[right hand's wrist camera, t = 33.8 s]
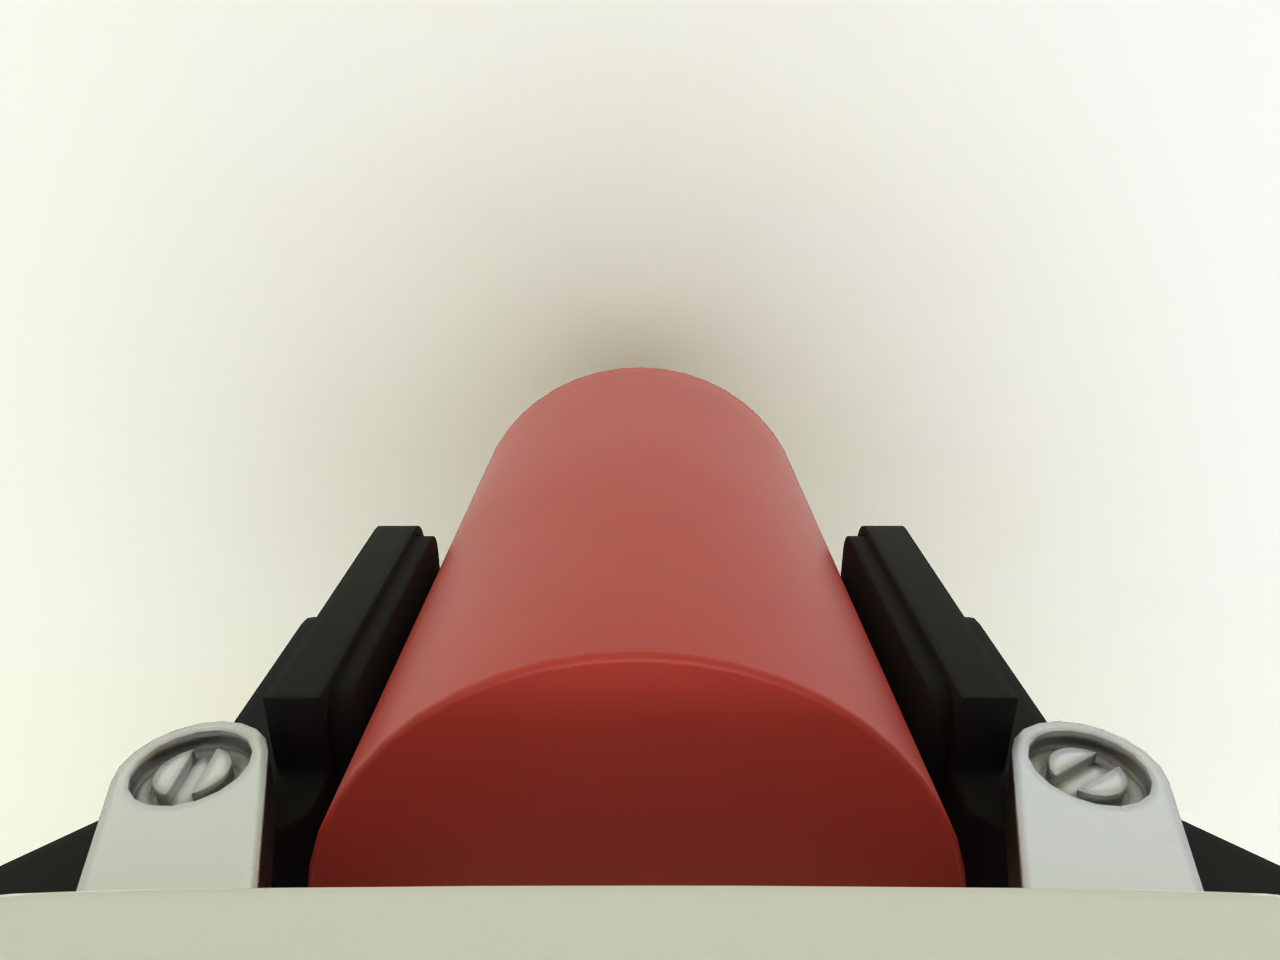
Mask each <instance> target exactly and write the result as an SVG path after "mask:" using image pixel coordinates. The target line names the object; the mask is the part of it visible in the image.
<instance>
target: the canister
mask: <svg viewBox="0 0 1280 960" xmlns="http://www.w3.org/2000/svg"><path fill="white" fill-rule="evenodd" d="M423 886H845V887H966V880H965V868H964V864H963V860H962V856H961V852H960V848H959V844H958V840H957V836H956V834H955V832H954V829H953V827H952V825H951V823H950V820H949V818H948V816H947V814H946V811H945V809H944V807H943V805H942V802H941V800H940V798H939V796H938V793H937V791H936V789H935V787H934V785H933V782H932V780H931V778H930V776H929V773H928V771H927V769H926V767H925V764H924V762H923V760H922V758H921V755H920V753H919V751H918V749H917V747H916V744H915V742H914V740H913V738H912V735H911V733H910V731H909V729H908V726H907V724H906V722H905V720H904V717H903V715H902V713H901V711H900V708H899V706H898V704H897V702H896V700H895V697H894V695H893V693H892V691H891V688H890V686H889V684H888V682H887V679H886V677H885V675H884V673H883V670H882V668H881V666H880V664H879V662H878V659H877V657H876V655H875V653H874V650H873V648H872V646H871V644H870V641H869V639H868V637H867V635H866V632H865V630H864V628H863V626H862V623H861V621H860V619H859V617H858V615H857V612H856V610H855V608H854V606H853V603H852V601H851V599H850V597H849V594H848V592H847V590H846V588H845V585H844V583H843V581H842V579H841V577H840V574H839V572H838V570H837V568H836V565H835V563H834V561H833V559H832V556H831V554H830V552H829V550H828V547H827V545H826V543H825V541H824V538H823V536H822V534H821V532H820V530H819V527H818V525H817V523H816V521H815V518H814V516H813V514H812V512H811V509H810V507H809V505H808V503H807V500H806V498H805V496H804V494H803V492H802V489H801V487H800V485H799V483H798V480H797V478H796V476H795V474H794V471H793V469H792V467H791V465H790V462H789V460H788V458H787V456H786V453H785V451H784V449H783V448H782V446H781V445H780V443H779V441H778V440H777V438H776V437H775V435H774V433H773V432H772V431H771V430H770V429H769V427H768V426H767V425H766V424H765V423H764V422H763V420H762V419H761V418H760V417H759V416H758V415H757V414H756V413H755V412H754V411H752V410H751V409H750V408H749V407H748V406H747V405H746V404H745V403H743V402H742V401H740V400H739V399H737V398H736V397H734V396H733V395H732V394H730V393H729V392H727V391H725V390H723V389H721V388H719V387H717V386H715V385H713V384H711V383H709V382H707V381H705V380H702V379H699V378H696V377H693V376H690V375H687V374H684V373H679V372H674V371H669V370H664V369H652V368H626V369H615V370H610V371H604V372H599V373H595V374H592V375H589V376H586V377H582V378H579V379H576V380H574V381H572V382H570V383H568V384H565V385H563V386H561V387H559V388H557V389H555V390H554V391H552V392H550V393H549V394H547V395H546V396H544V397H543V398H541V399H540V400H538V401H537V402H536V403H534V404H533V405H532V406H531V407H530V408H529V409H527V410H526V411H525V412H524V413H523V414H522V415H521V416H520V417H519V418H518V419H517V420H516V421H515V423H514V424H513V425H512V426H511V427H510V428H509V429H508V431H507V432H506V434H505V435H504V437H503V438H502V440H501V441H500V443H499V444H498V446H497V447H496V449H495V451H494V454H493V456H492V458H491V460H490V462H489V464H488V466H487V468H486V471H485V473H484V475H483V477H482V479H481V481H480V484H479V486H478V488H477V490H476V492H475V494H474V497H473V499H472V501H471V503H470V505H469V507H468V509H467V512H466V514H465V516H464V518H463V520H462V522H461V525H460V527H459V529H458V531H457V533H456V535H455V538H454V540H453V542H452V544H451V546H450V548H449V550H448V553H447V555H446V557H445V559H444V561H443V563H442V566H441V568H440V570H439V572H438V574H437V576H436V578H435V581H434V583H433V585H432V587H431V589H430V591H429V594H428V596H427V598H426V600H425V602H424V604H423V607H422V609H421V611H420V613H419V615H418V617H417V619H416V622H415V624H414V626H413V628H412V630H411V632H410V635H409V637H408V639H407V641H406V643H405V645H404V648H403V650H402V652H401V654H400V656H399V658H398V660H397V663H396V665H395V667H394V669H393V671H392V673H391V676H390V678H389V680H388V682H387V684H386V686H385V689H384V691H383V693H382V695H381V697H380V699H379V701H378V704H377V706H376V708H375V710H374V712H373V714H372V717H371V719H370V721H369V723H368V725H367V727H366V730H365V732H364V734H363V736H362V738H361V740H360V742H359V745H358V747H357V749H356V751H355V753H354V755H353V758H352V760H351V762H350V764H349V766H348V768H347V770H346V773H345V775H344V777H343V779H342V781H341V783H340V786H339V788H338V790H337V792H336V794H335V796H334V799H333V801H332V803H331V805H330V807H329V809H328V811H327V814H326V816H325V818H324V820H323V822H322V824H321V827H320V829H319V831H318V835H317V839H316V842H315V846H314V850H313V853H312V857H311V860H310V866H309V877H308V888H311V887H423Z"/></svg>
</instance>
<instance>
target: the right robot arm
mask: <svg viewBox="0 0 1280 960" xmlns="http://www.w3.org/2000/svg"><path fill="white" fill-rule="evenodd" d="M439 570H440V566H439V556H438V546H437V541H436V538H435V537H434V536H424V535H423V532H422V529H421V528H420V526H378V527H377V528H376V529H375V530H374V532H373V533H372V535H371V536H370V538H369V539H368V541H367V542H366V544H365V545H364V547H363V548H362V550H361V551H360V553H359V554H358V556H357V557H356V559H355V560H354V562H353V563H352V565H351V566H350V568H349V569H348V571H347V572H346V574H345V575H344V577H343V578H342V580H341V581H340V583H339V584H338V586H337V587H336V589H335V590H334V592H333V593H332V595H331V596H330V598H329V599H328V601H327V602H326V604H325V605H324V607H323V608H322V610H321V611H320V613H319V614H318V616H317V617H311V618H307V619H306V620H305V621H304V622H303V623H302V624H301V626H300V627H299V629H298V630H297V631H296V633H295V634H294V636H293V637H292V639H291V640H290V642H289V643H288V645H287V646H286V648H285V649H284V650H283V652H282V653H281V655H280V656H279V658H278V659H277V661H276V662H275V664H274V665H273V666H272V668H271V669H270V671H269V672H268V674H267V675H266V677H265V678H264V680H263V681H262V682H261V684H260V685H259V687H258V688H257V690H256V691H255V693H254V694H253V696H252V697H251V698H250V700H249V701H248V703H247V704H246V706H245V707H244V709H243V710H242V712H241V713H240V714H239V716H238V717H237V719H236V720H235V722H223V721H221V722H211V723H201V724H197V725H193V726H189V727H185V728H182V729H178V730H175V731H173V732H170V733H168V734H166V735H164V736H161V737H159V738H157V739H154V740H153V741H151V742H150V743H148V744H147V745H145V746H143V747H142V748H140V749H139V750H137V751H136V752H134V753H133V754H132V755H131V756H130V757H129V758H128V759H127V760H126V761H125V762H124V763H123V764H122V765H121V766H120V767H119V769H118V770H117V772H116V774H115V776H114V777H113V779H112V781H111V784H110V787H109V790H108V793H107V796H106V799H105V802H104V805H103V809H102V812H101V815H100V818H99V821H96V822H94V823H92V824H90V825H88V826H86V827H84V828H81V829H79V830H77V831H75V832H73V833H71V834H68V835H66V836H64V837H62V838H60V839H58V840H56V841H53V842H51V843H49V844H47V845H45V846H43V847H40V848H38V849H36V850H34V851H32V852H30V853H28V854H25V855H23V856H21V857H19V858H17V859H15V860H12V861H10V862H8V863H6V864H4V865H2V866H0V960H1280V866H1279V865H1277V864H1275V863H1273V862H1270V861H1268V860H1266V859H1264V858H1262V857H1260V856H1258V855H1255V854H1253V853H1251V852H1249V851H1247V850H1245V849H1243V848H1240V847H1238V846H1236V845H1234V844H1232V843H1230V842H1227V841H1225V840H1223V839H1221V838H1219V837H1217V836H1215V835H1212V834H1210V833H1208V832H1206V831H1204V830H1202V829H1200V828H1197V827H1195V826H1193V825H1191V824H1189V823H1187V822H1184V821H1182V820H1181V818H1180V815H1179V812H1178V809H1177V805H1176V802H1175V799H1174V796H1173V793H1172V790H1171V787H1170V784H1169V781H1168V779H1167V777H1166V776H1165V774H1164V772H1163V770H1162V769H1161V767H1160V766H1159V765H1158V764H1157V763H1156V762H1155V761H1154V760H1153V759H1152V758H1151V757H1150V756H1149V755H1148V754H1147V753H1146V752H1144V751H1143V750H1141V749H1140V748H1138V747H1137V746H1135V745H1133V744H1132V743H1130V742H1129V741H1127V740H1126V739H1123V738H1121V737H1119V736H1116V735H1114V734H1112V733H1110V732H1107V731H1105V730H1102V729H1098V728H1095V727H1091V726H1087V725H1083V724H1079V723H1069V722H1059V721H1057V722H1046V720H1045V719H1044V717H1043V716H1042V714H1041V713H1040V711H1039V710H1038V708H1037V707H1036V705H1035V704H1034V703H1033V701H1032V700H1031V698H1030V697H1029V695H1028V694H1027V692H1026V691H1025V689H1024V688H1023V687H1022V685H1021V684H1020V682H1019V681H1018V679H1017V678H1016V676H1015V675H1014V673H1013V672H1012V670H1011V669H1010V668H1009V666H1008V665H1007V663H1006V662H1005V660H1004V659H1003V657H1002V656H1001V654H1000V653H999V652H998V650H997V649H996V647H995V646H994V644H993V643H992V641H991V640H990V638H989V637H988V636H987V634H986V633H985V631H984V630H983V628H982V627H981V625H980V624H979V623H978V622H977V621H976V620H975V619H974V618H970V617H964V616H963V614H962V613H961V611H960V610H959V608H958V607H957V605H956V604H955V602H954V601H953V599H952V598H951V596H950V595H949V593H948V592H947V590H946V589H945V587H944V586H943V584H942V583H941V581H940V580H939V578H938V577H937V575H936V574H935V572H934V571H933V569H932V567H931V566H930V564H929V563H928V561H927V560H926V558H925V557H924V555H923V554H922V552H921V551H920V549H919V548H918V546H917V545H916V543H915V542H914V540H913V539H912V537H911V536H910V534H909V533H908V531H907V530H906V528H904V527H903V526H862V527H861V528H860V530H859V533H858V536H847V537H846V539H845V542H844V548H843V558H842V569H841V579H842V581H843V583H844V585H845V588H846V590H847V592H848V594H849V597H850V599H851V601H852V603H853V606H854V608H855V610H856V612H857V615H858V617H859V619H860V621H861V623H862V626H863V628H864V630H865V632H866V635H867V637H868V639H869V641H870V644H871V646H872V648H873V650H874V653H875V655H876V657H877V659H878V662H879V664H880V666H881V668H882V670H883V673H884V675H885V677H886V679H887V682H888V684H889V686H890V688H891V691H892V693H893V695H894V697H895V700H896V702H897V704H898V706H899V708H900V711H901V713H902V715H903V717H904V720H905V722H906V724H907V726H908V729H909V731H910V733H911V735H912V738H913V740H914V742H915V744H916V747H917V749H918V751H919V753H920V755H921V758H922V760H923V762H924V764H925V767H926V769H927V771H928V773H929V776H930V778H931V780H932V782H933V785H934V787H935V789H936V791H937V793H938V796H939V798H940V800H941V802H942V805H943V807H944V809H945V811H946V814H947V816H948V818H949V820H950V823H951V825H952V827H953V829H954V832H955V834H956V836H957V840H958V844H959V848H960V852H961V856H962V860H963V864H964V868H965V880H966V887H845V886H423V887H311V888H308V877H309V866H310V860H311V857H312V853H313V850H314V846H315V842H316V839H317V835H318V831H319V829H320V827H321V824H322V822H323V820H324V818H325V816H326V814H327V811H328V809H329V807H330V805H331V803H332V801H333V799H334V796H335V794H336V792H337V790H338V788H339V786H340V783H341V781H342V779H343V777H344V775H345V773H346V770H347V768H348V766H349V764H350V762H351V760H352V758H353V755H354V753H355V751H356V749H357V747H358V745H359V742H360V740H361V738H362V736H363V734H364V732H365V730H366V727H367V725H368V723H369V721H370V719H371V717H372V714H373V712H374V710H375V708H376V706H377V704H378V701H379V699H380V697H381V695H382V693H383V691H384V689H385V686H386V684H387V682H388V680H389V678H390V676H391V673H392V671H393V669H394V667H395V665H396V663H397V660H398V658H399V656H400V654H401V652H402V650H403V648H404V645H405V643H406V641H407V639H408V637H409V635H410V632H411V630H412V628H413V626H414V624H415V622H416V619H417V617H418V615H419V613H420V611H421V609H422V607H423V604H424V602H425V600H426V598H427V596H428V594H429V591H430V589H431V587H432V585H433V583H434V581H435V578H436V576H437V574H438V572H439Z"/></svg>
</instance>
